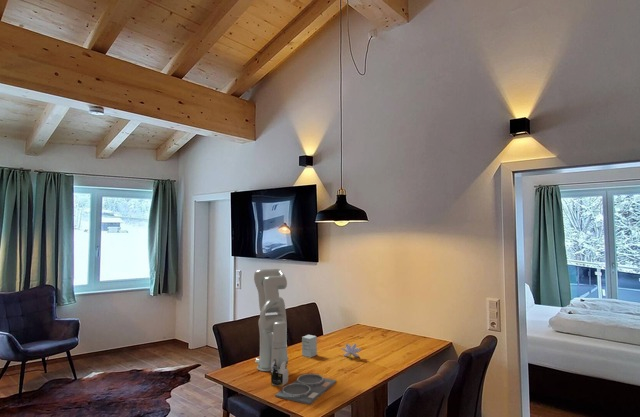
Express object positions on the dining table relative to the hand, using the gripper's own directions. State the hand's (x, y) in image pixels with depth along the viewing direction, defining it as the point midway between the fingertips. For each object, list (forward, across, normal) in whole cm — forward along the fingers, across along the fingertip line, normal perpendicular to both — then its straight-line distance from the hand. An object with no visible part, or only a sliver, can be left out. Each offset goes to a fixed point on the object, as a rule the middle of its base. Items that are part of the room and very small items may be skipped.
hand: (279, 377), depth 206 cm
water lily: (+4, -57, +20) cm, 60 cm away
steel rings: (+2, 0, +15) cm, 15 cm away
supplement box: (+4, -49, -8) cm, 50 cm away
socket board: (+3, 0, +17) cm, 17 cm away
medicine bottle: (+4, 0, 0) cm, 4 cm away
